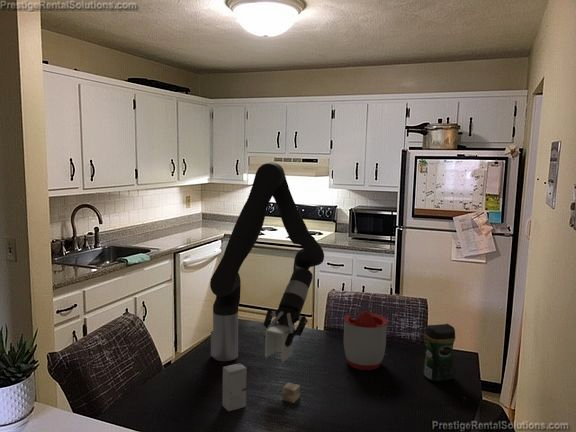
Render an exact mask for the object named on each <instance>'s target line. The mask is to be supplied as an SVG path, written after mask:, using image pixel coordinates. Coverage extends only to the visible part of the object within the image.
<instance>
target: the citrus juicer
mask: <svg viewBox="0 0 576 432" xmlns="http://www.w3.org/2000/svg"><path fill="white" fill-rule="evenodd" d="M343 321H344V323H343V325H344V326H343V347H344V348H343V349H344V354H345V359H346V362H347V363H348V365H349V366H350V367H352V368H354V369H357V370H360V371H372V370H376V369H378V368H379V367H380V366H381V364H382V362H383V360H384V357H385V353H386V352H385V351H386V346H387V331H388V330H387V329H388V328H387V327H388V322H389V321H388V318H386V317H385V316H383V315H381V314H378V313H374V312H369V311H367V310H365V311H363V312H362V311H360V315H359V316H358V317H357V318H356V319H352V316H351V315H350V314H349V313H348V314H346V315H344V316H343Z"/></svg>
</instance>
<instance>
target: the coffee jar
mask: <svg viewBox="0 0 576 432" xmlns="http://www.w3.org/2000/svg"><path fill="white" fill-rule="evenodd" d="M424 335H425V336H424V337H425V339H426V350H425V357H424V363H423V376H424V377H425V378H427V379H428V380H430V381H432V382H444V381H445V382H447V381H452V379H454V358H453V357H454V343H455V341H456V329H455V327H454V326H452V325H451V324H449V323H443V324H440V323H439V324H428V325H427V326H426V327H425V333H424Z"/></svg>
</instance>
